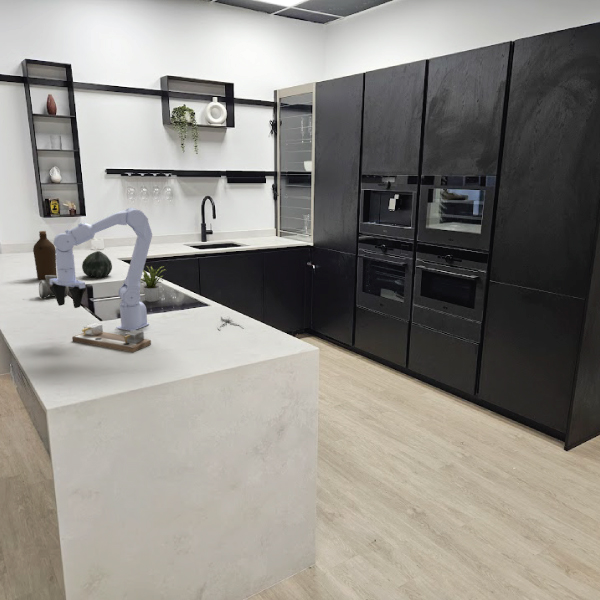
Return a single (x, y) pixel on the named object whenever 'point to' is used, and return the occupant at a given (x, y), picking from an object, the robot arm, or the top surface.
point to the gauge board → (116, 340)
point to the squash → (97, 265)
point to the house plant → (151, 284)
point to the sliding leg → (92, 329)
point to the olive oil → (44, 257)
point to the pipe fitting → (48, 287)
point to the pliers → (229, 322)
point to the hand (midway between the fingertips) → (69, 306)
